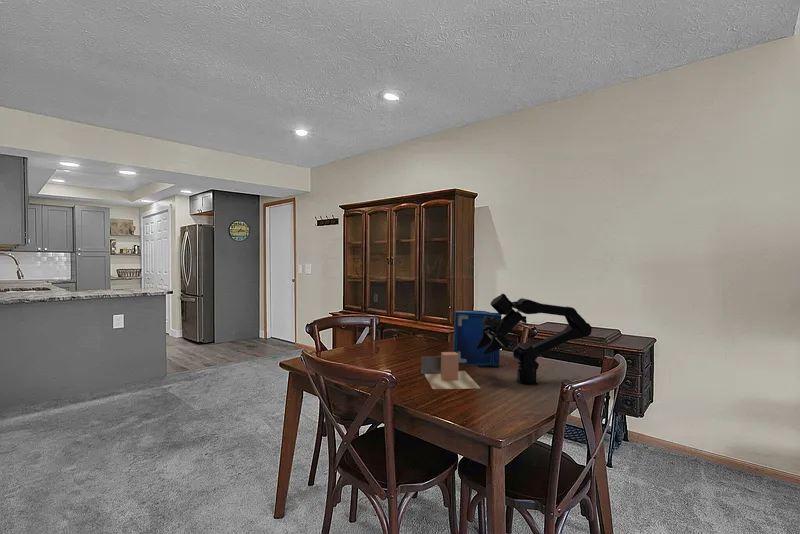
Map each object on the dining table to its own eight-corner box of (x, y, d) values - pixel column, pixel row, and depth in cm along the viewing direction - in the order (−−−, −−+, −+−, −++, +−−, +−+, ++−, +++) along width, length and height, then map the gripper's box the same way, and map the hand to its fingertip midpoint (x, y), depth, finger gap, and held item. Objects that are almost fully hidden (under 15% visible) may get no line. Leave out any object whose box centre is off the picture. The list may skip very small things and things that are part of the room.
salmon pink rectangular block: (455, 376, 172) (455, 352, 172) (458, 380, 167) (458, 354, 167) (440, 376, 171) (441, 352, 171) (443, 380, 166) (443, 355, 166)
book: (499, 364, 197) (500, 310, 197) (501, 368, 190) (502, 312, 190) (452, 362, 199) (453, 309, 199) (453, 366, 192) (454, 311, 192)
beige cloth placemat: (464, 373, 181) (464, 370, 181) (480, 390, 157) (480, 388, 157) (422, 373, 179) (422, 371, 179) (432, 391, 155) (432, 388, 155)
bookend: (448, 371, 179) (449, 355, 179) (450, 373, 176) (450, 356, 176) (420, 372, 178) (421, 355, 178) (421, 373, 175) (422, 357, 175)
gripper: (487, 306, 176) (460, 332, 175) (502, 311, 158) (472, 341, 157) (505, 324, 177) (478, 351, 176) (522, 332, 159) (493, 362, 158)
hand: (480, 351), depth 167 cm, fingers open, 9 cm apart
